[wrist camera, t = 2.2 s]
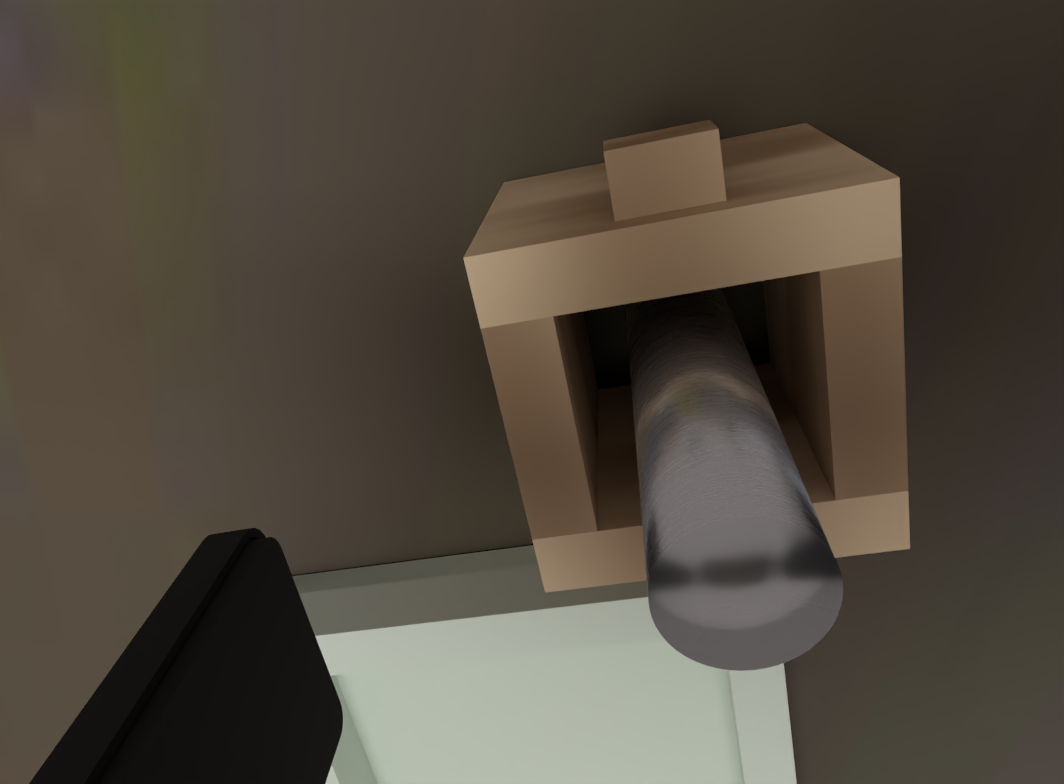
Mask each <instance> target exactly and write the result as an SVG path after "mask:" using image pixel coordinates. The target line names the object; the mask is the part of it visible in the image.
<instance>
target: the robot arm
mask: <svg viewBox="0 0 1064 784" xmlns="http://www.w3.org/2000/svg"><path fill="white" fill-rule="evenodd" d="M342 728H343V712H342V706H341V702H340V699H339V697H338V694H337V691H336V689H335V686H334V684H333V681H332V678H331V676H330V673H329V671H328V668H327V665H326V663H325V660H324V658H323V655H322V652H321V650H320V647H319V645H318V642H317V639H316V637H315V634H314V632H313V629H312V626H311V624H310V621H309V619H308V616H307V613H306V611H305V608H304V606H303V603H302V600H301V598H300V595H299V593H298V590H297V587H296V585H295V582H294V579H293V577H292V574H291V572H290V569H289V566H288V564H287V561H286V559H285V556H284V553H283V551H282V548H281V546H280V544H279V542H278V541H277V540H276V539H275V538H272V537H269V538H266V537H265V535H264V534H263V533H262V532H261V531H260V530H258V529H256V528H250V529H244V530H237V531H231V532H224V533H218V534H212V535H208V536H207V537H206V538H205V539H204V540H203V541H202V543H201V544H200V546H199V547H198V548H197V550H196V551H195V553H194V554H193V555H192V557H191V558H190V560H189V561H188V562H187V564H186V565H185V567H184V568H183V569H182V571H181V572H180V574H179V575H178V576H177V578H176V579H175V581H174V582H173V583H172V585H171V586H170V588H169V589H168V590H167V592H166V593H165V595H164V596H163V597H162V599H161V600H160V602H159V603H158V604H157V606H156V607H155V609H154V610H153V611H152V613H151V614H150V616H149V617H148V618H147V620H146V621H145V623H144V624H143V625H142V627H141V628H140V630H139V631H138V632H137V634H136V635H135V636H134V638H133V639H132V641H131V642H130V643H129V645H128V646H127V648H126V649H125V650H124V652H123V653H122V655H121V656H120V657H119V659H118V660H117V662H116V663H115V664H114V666H113V667H112V669H111V670H110V671H109V673H108V674H107V676H106V677H105V678H104V680H103V681H102V683H101V684H100V685H99V687H98V688H97V690H96V691H95V692H94V694H93V695H92V697H91V698H90V699H89V701H88V702H87V704H86V705H85V706H84V708H83V709H82V711H81V712H80V713H79V715H78V716H77V718H76V719H75V720H74V722H73V723H72V725H71V726H70V727H69V729H68V730H67V732H66V733H65V734H64V736H63V737H62V739H61V740H60V741H59V743H58V744H57V746H56V747H55V748H54V750H53V751H52V753H51V754H50V755H49V757H48V758H47V760H46V761H45V762H44V764H43V765H42V767H41V768H40V769H39V771H38V772H37V774H36V775H35V776H34V778H33V779H32V781H31V782H30V783H29V784H325V783H326V780H327V777H328V774H329V771H330V768H331V765H332V762H333V759H334V756H335V753H336V750H337V746H338V743H339V740H340V737H341V733H342Z"/></svg>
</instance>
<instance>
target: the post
mask: <svg viewBox="0 0 1064 784" xmlns="http://www.w3.org/2000/svg"><path fill="white" fill-rule="evenodd" d="M625 315H626V328H627V340H628V353H629V365H630V378H631V390H632V403H633V415H634V427H635V440H636V452H637V465H638V477H639V490H640V502H641V515H642V527H643V540H644V552H645V565H646V577H647V590H648V601H649V609H650V613H651V617H652V619H653V622H654V624H655V626H656V628H657V629H658V631H659V632H660V634H661V636H662V637H663V638H664V639H665V640H666V641H667V642H668V643H669V644H670V645H671V646H672V647H673V648H674V649H675V650H677V651H678V652H680V653H681V654H683V655H684V656H686V657H688V658H690V659H692V660H694V661H696V662H698V663H701V664H704V665H706V666H710V667H714V668H718V669H725V670H736V671H746V670H758V669H764V668H769V667H773V666H777V665H780V664H782V663H785V662H788V661H790V660H792V659H794V658H796V657H798V656H800V655H802V654H803V653H805V652H806V651H808V650H810V649H811V648H812V647H813V646H814V645H816V644H817V643H818V642H819V641H820V640H821V639H822V638H823V637H824V636H825V635H826V634H827V632H828V631H829V630H830V628H831V627H832V626H833V624H834V622H835V620H836V618H837V616H838V614H839V611H840V608H841V604H842V599H843V582H842V576H841V573H840V570H839V567H838V564H837V562H836V559H835V557H834V555H833V552H832V550H831V547H830V545H829V543H828V540H827V538H826V536H825V533H824V531H823V529H822V526H821V524H820V521H819V519H818V517H817V514H816V512H815V510H814V507H813V505H812V503H811V500H810V498H809V495H808V493H807V491H806V488H805V486H804V484H803V481H802V479H801V476H800V474H799V472H798V469H797V467H796V465H795V462H794V460H793V458H792V455H791V453H790V450H789V448H788V446H787V443H786V441H785V439H784V436H783V434H782V431H781V429H780V427H779V424H778V422H777V420H776V417H775V415H774V413H773V410H772V408H771V405H770V403H769V401H768V398H767V396H766V394H765V391H764V389H763V386H762V384H761V382H760V379H759V377H758V375H757V372H756V370H755V368H754V365H753V363H752V360H751V358H750V356H749V353H748V351H747V349H746V346H745V344H744V341H743V339H742V337H741V334H740V332H739V330H738V327H737V325H736V323H735V320H734V318H733V315H732V313H731V311H730V308H729V306H728V304H727V301H726V299H725V296H724V294H723V292H722V289H721V288H717V289H711V290H705V291H699V292H693V293H687V294H682V295H676V296H670V297H664V298H658V299H652V300H646V301H641V302H635V303H629V304H625Z"/></svg>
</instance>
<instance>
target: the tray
mask: <svg viewBox="0 0 1064 784" xmlns="http://www.w3.org/2000/svg"><path fill="white" fill-rule="evenodd" d="M292 577H293V579H294V582H295V585H296V587H297V590H298V593H299V595H300V598H301V600H302V603H303V606H304V608H305V611H306V613H307V616H308V619H309V621H310V624H311V626H312V629H313V632H314V634H315V637H316V639H317V642H318V645H319V647H320V650H321V652H322V655H323V658H324V660H325V663H326V665H327V668H328V671H329V673H330V676H331V678H332V681H333V684H334V686H335V689H336V691H337V694H338V697H339V699H340V702H341V706H342V712H343V728H342V733H341V737H340V740H339V743H338V746H337V750H336V753H335V756H334V759H333V762H332V765H331V768H330V771H329V774H328V777H327V780H326V783H325V784H797V782H796V773H795V763H794V754H793V745H792V736H791V726H790V717H789V708H788V699H787V689H786V680H785V671H784V663H782V664H780V665H777V666H773V667H769V668H764V669H758V670H746V671H736V670H725V669H718V668H714V667H710V666H706V665H704V664H701V663H698V662H696V661H694V660H692V659H690V658H688V657H686V656H684V655H683V654H681V653H680V652H678V651H677V650H675V649H674V648H673V647H672V646H671V645H670V644H669V643H668V642H667V641H666V640H665V639H664V638H663V637H662V636H661V634H660V632H659V631H658V629H657V628H656V626H655V624H654V622H653V619H652V617H651V613H650V609H649V601H648V590H647V580H646V581H638V582H629V583H621V584H613V585H604V586H596V587H588V588H579V589H571V590H563V591H554V592H546V593H545V590H544V586H543V582H542V578H541V574H540V569H539V565H538V561H537V557H536V553H535V549H534V545H530V546H523V547H515V548H507V549H499V550H492V551H484V552H476V553H468V554H461V555H453V556H445V557H437V558H430V559H422V560H414V561H406V562H399V563H391V564H383V565H375V566H368V567H360V568H352V569H344V570H337V571H329V572H321V573H313V574H306V575H298V576H292Z"/></svg>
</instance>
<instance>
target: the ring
mask: <svg viewBox="0 0 1064 784" xmlns="http://www.w3.org/2000/svg"><path fill="white" fill-rule="evenodd" d="M603 153H604V159H605V162H604V163H599V164H594V165H589V166H584V167H579V168H574V169H569V170H564V171H559V172H553V173H548V174H543V175H538V176H533V177H528V178H523V179H518V180H513V181H508V182H504V183H503V185H502V187H501V188H500V190H499V192H498V194H497V196H496V198H495V200H494V201H493V203H492V205H491V207H490V209H489V211H488V213H487V214H486V216H485V218H484V220H483V222H482V224H481V226H480V227H479V229H478V231H477V233H476V235H475V237H474V239H473V240H472V242H471V244H470V246H469V248H468V250H467V252H466V253H465V255H464V257H463V259H464V263H465V267H466V271H467V275H468V279H469V284H470V288H471V292H472V296H473V300H474V304H475V308H476V312H477V316H478V320H479V324H480V328H481V333H482V337H483V341H484V345H485V349H486V353H487V357H488V361H489V365H490V369H491V373H492V377H493V382H494V386H495V390H496V394H497V398H498V402H499V406H500V410H501V414H502V418H503V422H504V427H505V431H506V435H507V439H508V443H509V447H510V451H511V455H512V459H513V463H514V467H515V471H516V476H517V480H518V484H519V488H520V492H521V496H522V500H523V504H524V508H525V512H526V516H527V520H528V525H529V529H530V533H531V537H532V541H533V545H534V549H535V553H536V557H537V561H538V565H539V569H540V574H541V578H542V582H543V586H544V590H545V593H546V592H554V591H563V590H571V589H579V588H588V587H596V586H604V585H613V584H621V583H629V582H638V581H646V580H647V577H646V565H645V552H644V540H643V527H642V515H641V502H640V490H639V477H638V465H637V452H636V440H635V427H634V415H633V403H632V390H631V385H624V386H618V387H611V388H605V389H598V385H597V380H596V375H595V370H594V364H593V359H592V354H591V349H590V343H589V338H588V333H587V328H586V322H585V317H584V312H583V311H588V310H594V309H599V308H605V307H611V306H617V305H623V304H629V303H635V302H641V301H646V300H652V299H658V298H664V297H670V296H676V295H682V294H687V293H693V292H699V291H705V290H711V289H717V288H723V287H729V286H734V285H740V284H746V283H752V282H758V281H763V291H764V301H765V311H766V322H767V332H768V342H769V352H770V362H771V363H765V364H759V365H754V368H755V370H756V372H757V375H758V377H759V379H760V382H761V384H762V386H763V389H764V391H765V394H766V396H767V398H768V401H769V403H770V405H771V408H772V410H773V413H774V415H775V417H776V420H777V422H778V424H779V427H780V429H781V431H782V434H783V436H784V439H785V441H786V443H787V446H788V448H789V450H790V453H791V455H792V458H793V460H794V462H795V465H796V467H797V469H798V472H799V474H800V476H801V479H802V481H803V484H804V486H805V488H806V491H807V493H808V495H809V498H810V500H811V503H812V505H813V507H814V510H815V512H816V514H817V517H818V519H819V521H820V524H821V526H822V529H823V531H824V533H825V536H826V538H827V540H828V543H829V545H830V547H831V550H832V552H833V555H834V557H835V558H837V557H846V556H854V555H862V554H871V553H879V552H887V551H896V550H904V549H910V530H909V495H908V459H907V423H906V387H905V351H904V315H903V279H902V244H901V208H900V177H898V176H896V175H895V174H893V173H891V172H890V171H888V170H886V169H884V168H883V167H881V166H879V165H878V164H876V163H874V162H872V161H871V160H869V159H867V158H866V157H864V156H862V155H860V154H859V153H857V152H855V151H854V150H852V149H850V148H848V147H847V146H845V145H843V144H842V143H840V142H838V141H836V140H835V139H833V138H831V137H830V136H828V135H826V134H824V133H823V132H821V131H819V130H818V129H816V128H814V127H812V126H811V125H809V124H807V123H803V124H797V125H792V126H787V127H782V128H777V129H772V130H767V131H762V132H757V133H752V134H747V135H742V136H736V137H731V138H726V139H721V140H720V136H719V129H718V127H717V126H716V125H715V124H714V123H713V122H712V121H711V120H705V121H700V122H695V123H690V124H685V125H680V126H675V127H670V128H665V129H660V130H655V131H650V132H645V133H640V134H635V135H630V136H625V137H620V138H615V139H610V140H605V141H603Z"/></svg>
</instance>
